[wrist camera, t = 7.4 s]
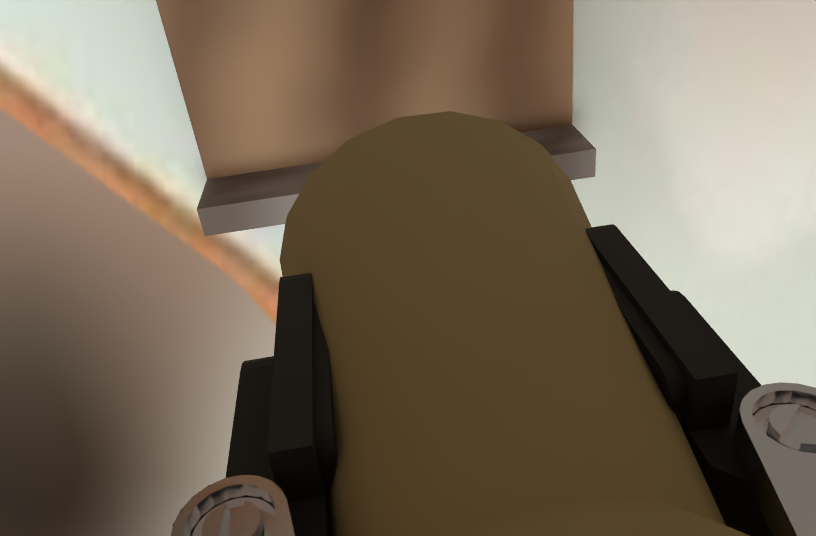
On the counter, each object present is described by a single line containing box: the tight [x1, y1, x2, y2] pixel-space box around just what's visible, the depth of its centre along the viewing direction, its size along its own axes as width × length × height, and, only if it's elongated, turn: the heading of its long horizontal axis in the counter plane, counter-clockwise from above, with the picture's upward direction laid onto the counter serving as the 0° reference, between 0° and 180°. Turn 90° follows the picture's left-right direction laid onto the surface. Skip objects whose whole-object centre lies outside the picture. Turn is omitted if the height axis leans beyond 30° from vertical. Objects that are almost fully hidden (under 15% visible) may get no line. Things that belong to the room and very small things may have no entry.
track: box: [156, 0, 596, 236], centre depth 27 cm, size 16×11×4 cm
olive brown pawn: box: [280, 111, 749, 536], centre depth 9 cm, size 6×6×11 cm
